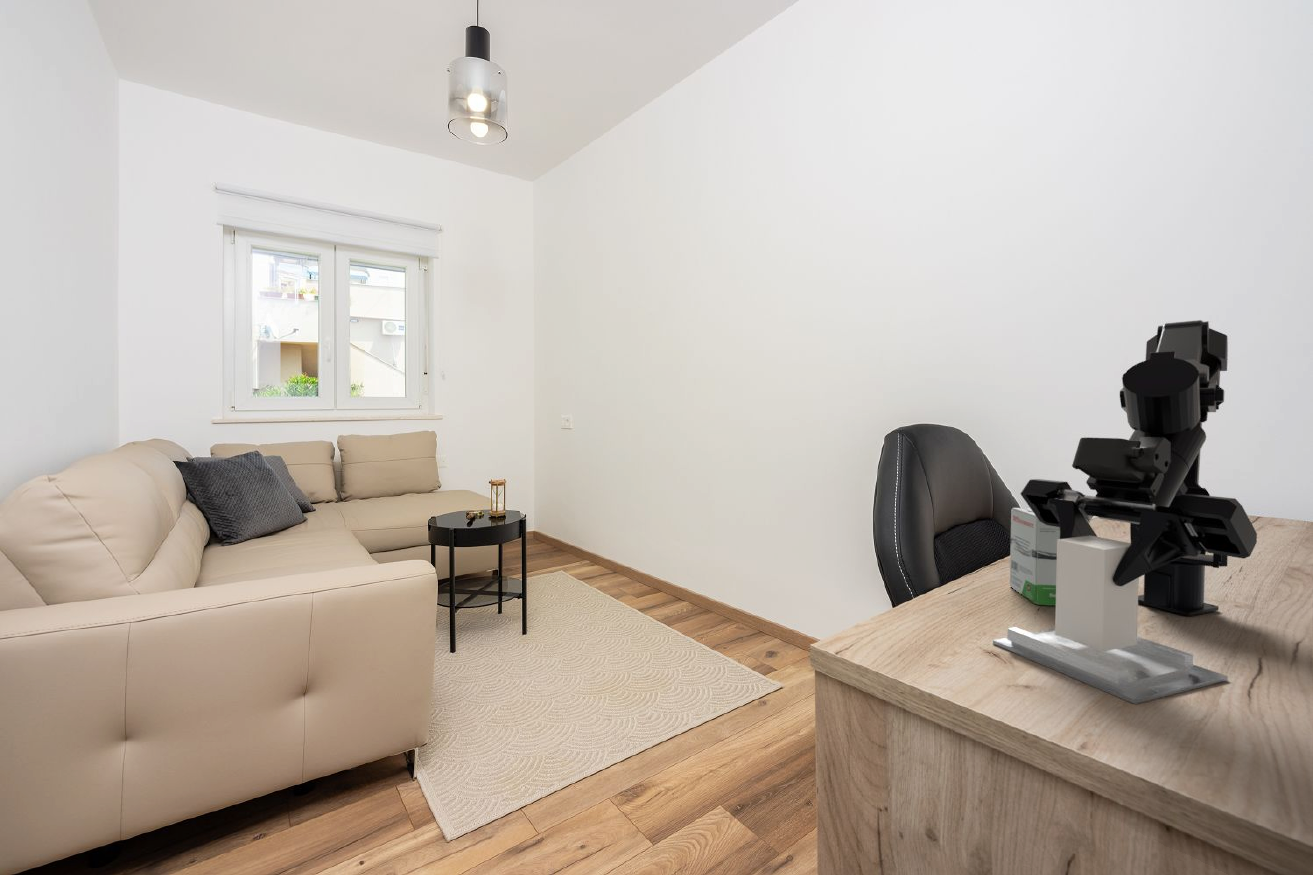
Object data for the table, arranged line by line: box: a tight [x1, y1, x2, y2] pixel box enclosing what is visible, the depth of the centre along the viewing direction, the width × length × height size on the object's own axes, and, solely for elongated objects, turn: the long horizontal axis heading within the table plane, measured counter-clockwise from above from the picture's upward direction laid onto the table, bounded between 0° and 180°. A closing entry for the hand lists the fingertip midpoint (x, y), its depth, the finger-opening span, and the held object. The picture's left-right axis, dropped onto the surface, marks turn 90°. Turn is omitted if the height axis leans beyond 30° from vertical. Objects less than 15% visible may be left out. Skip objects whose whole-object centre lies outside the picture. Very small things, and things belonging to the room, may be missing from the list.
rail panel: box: [992, 626, 1229, 705], centre depth 58 cm, size 13×14×2 cm
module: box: [1054, 535, 1140, 652], centre depth 57 cm, size 5×5×10 cm
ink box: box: [1009, 507, 1060, 606], centre depth 78 cm, size 9×5×12 cm, turn 168°
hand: (1087, 576), depth 57 cm, fingers closed on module, 5 cm apart
